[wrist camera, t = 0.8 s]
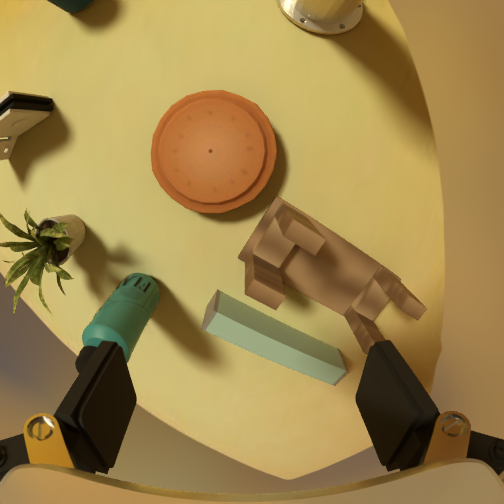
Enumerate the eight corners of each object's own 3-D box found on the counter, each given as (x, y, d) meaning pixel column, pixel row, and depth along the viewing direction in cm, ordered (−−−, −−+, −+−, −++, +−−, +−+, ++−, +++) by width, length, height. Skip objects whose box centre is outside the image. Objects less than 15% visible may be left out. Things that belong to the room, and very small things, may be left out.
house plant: (103, 291, 43) (54, 350, 28) (40, 261, 41) (-17, 304, 26) (119, 210, 39) (57, 246, 24) (50, 183, 37) (-22, 206, 22)
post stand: (276, 195, 39) (286, 212, 28) (398, 276, 43) (432, 310, 33) (238, 255, 42) (235, 291, 31) (362, 323, 46) (385, 364, 36)
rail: (217, 289, 43) (213, 310, 38) (339, 349, 48) (348, 371, 42) (206, 306, 44) (201, 328, 39) (327, 363, 49) (335, 385, 43)
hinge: (8, 160, 35) (-31, 167, 26) (0, 136, 33) (-38, 140, 24) (56, 110, 33) (15, 106, 24) (47, 85, 32) (8, 78, 22)
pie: (272, 209, 40) (275, 217, 35) (160, 208, 39) (149, 216, 34) (276, 96, 34) (280, 88, 30) (160, 98, 34) (148, 92, 29)
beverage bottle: (164, 270, 42) (113, 356, 23) (163, 308, 44) (122, 401, 26) (124, 264, 42) (57, 339, 23) (125, 301, 44) (70, 385, 25)
